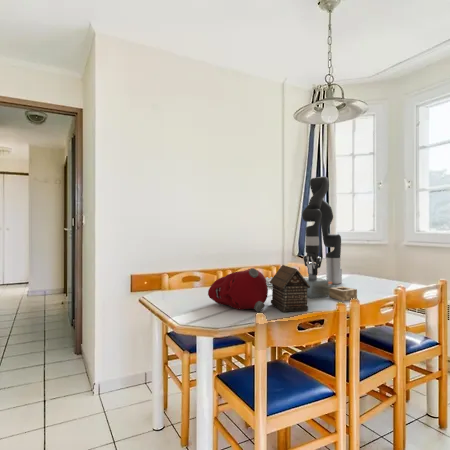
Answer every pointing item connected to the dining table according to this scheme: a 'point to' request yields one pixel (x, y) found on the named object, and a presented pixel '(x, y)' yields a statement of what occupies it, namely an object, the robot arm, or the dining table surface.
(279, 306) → the model building
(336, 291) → the brown square box
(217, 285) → the mask
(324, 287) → the grey tissue box
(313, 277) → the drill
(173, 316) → the dining table surface
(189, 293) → the dining table surface
